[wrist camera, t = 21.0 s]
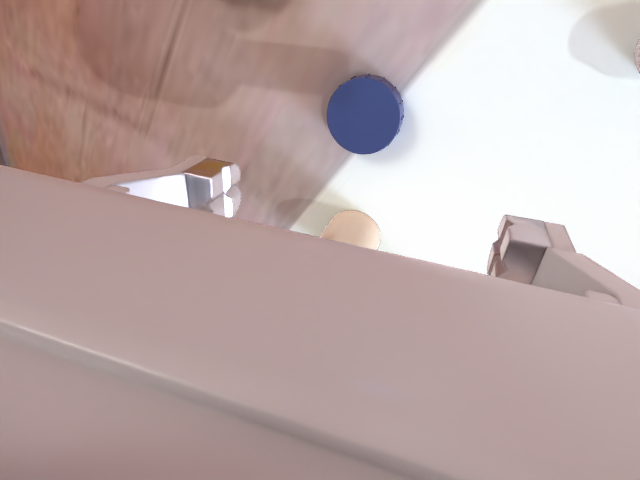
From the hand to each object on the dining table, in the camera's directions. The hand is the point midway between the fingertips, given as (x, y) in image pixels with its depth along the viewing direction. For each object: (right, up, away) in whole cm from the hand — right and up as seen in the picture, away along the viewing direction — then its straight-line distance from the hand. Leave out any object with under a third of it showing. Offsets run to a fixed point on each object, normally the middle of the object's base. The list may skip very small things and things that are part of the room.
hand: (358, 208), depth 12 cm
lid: (+2, +9, +20) cm, 22 cm away
